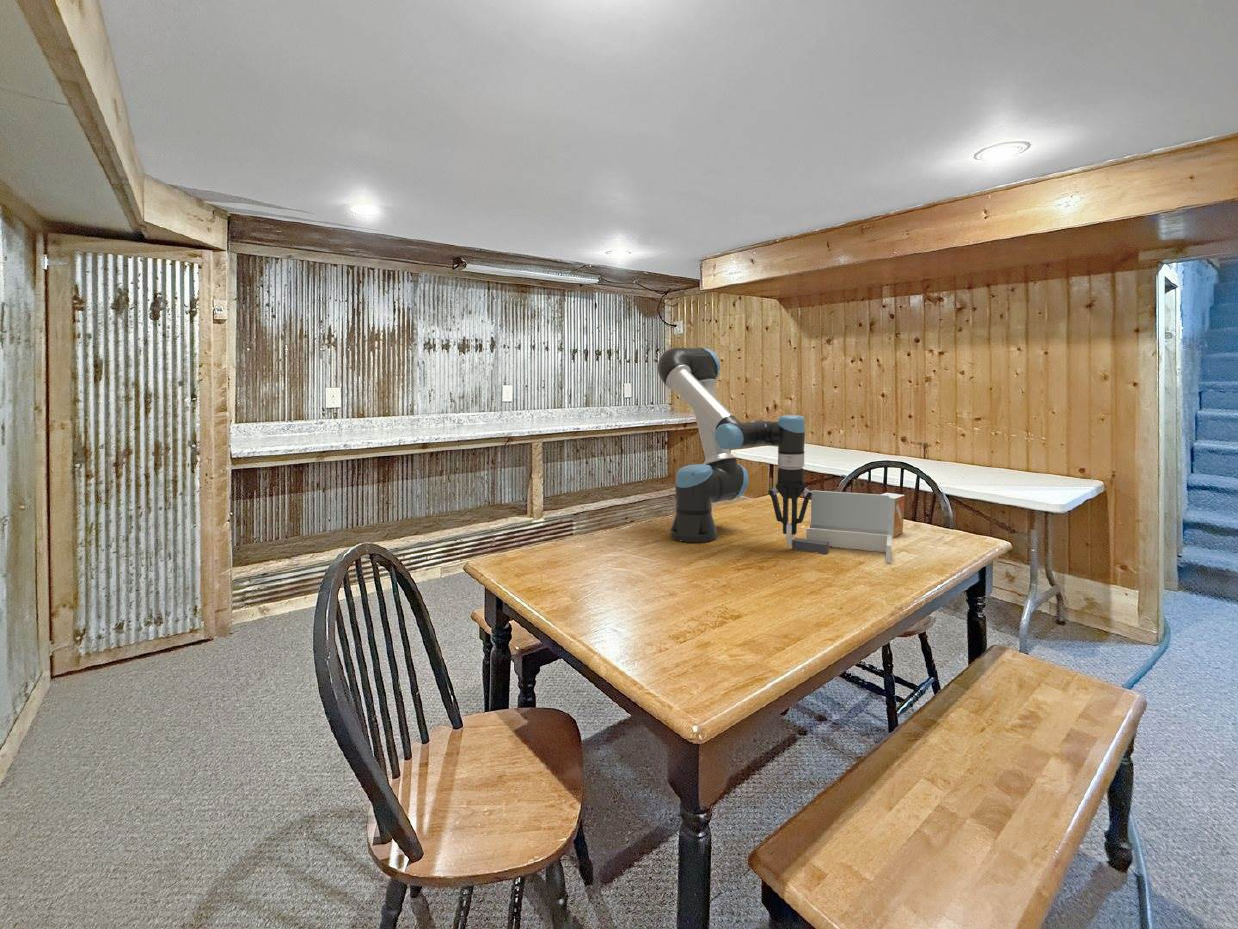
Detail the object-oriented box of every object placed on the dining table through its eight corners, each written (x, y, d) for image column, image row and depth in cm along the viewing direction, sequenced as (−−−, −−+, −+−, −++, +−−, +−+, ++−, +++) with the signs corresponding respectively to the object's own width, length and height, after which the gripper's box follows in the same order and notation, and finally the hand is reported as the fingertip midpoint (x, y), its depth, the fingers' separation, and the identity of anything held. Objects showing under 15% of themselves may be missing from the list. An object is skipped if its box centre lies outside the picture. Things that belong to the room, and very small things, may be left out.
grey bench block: (800, 553, 173) (801, 537, 172) (807, 541, 186) (808, 525, 185) (890, 563, 163) (891, 545, 162) (891, 549, 176) (891, 533, 175)
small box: (893, 538, 188) (895, 498, 186) (873, 534, 192) (875, 495, 190) (903, 533, 193) (905, 494, 191) (883, 530, 198) (885, 492, 196)
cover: (810, 491, 178) (811, 490, 179) (809, 528, 181) (810, 527, 182) (890, 496, 169) (890, 495, 170) (888, 535, 172) (888, 534, 173)
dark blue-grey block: (791, 550, 177) (792, 540, 177) (795, 547, 180) (795, 537, 180) (826, 554, 172) (826, 544, 172) (828, 551, 175) (829, 542, 175)
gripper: (766, 468, 173) (765, 545, 177) (811, 470, 168) (810, 550, 171) (771, 465, 180) (770, 539, 183) (815, 466, 175) (813, 543, 178)
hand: (789, 544), depth 177 cm, fingers closed
